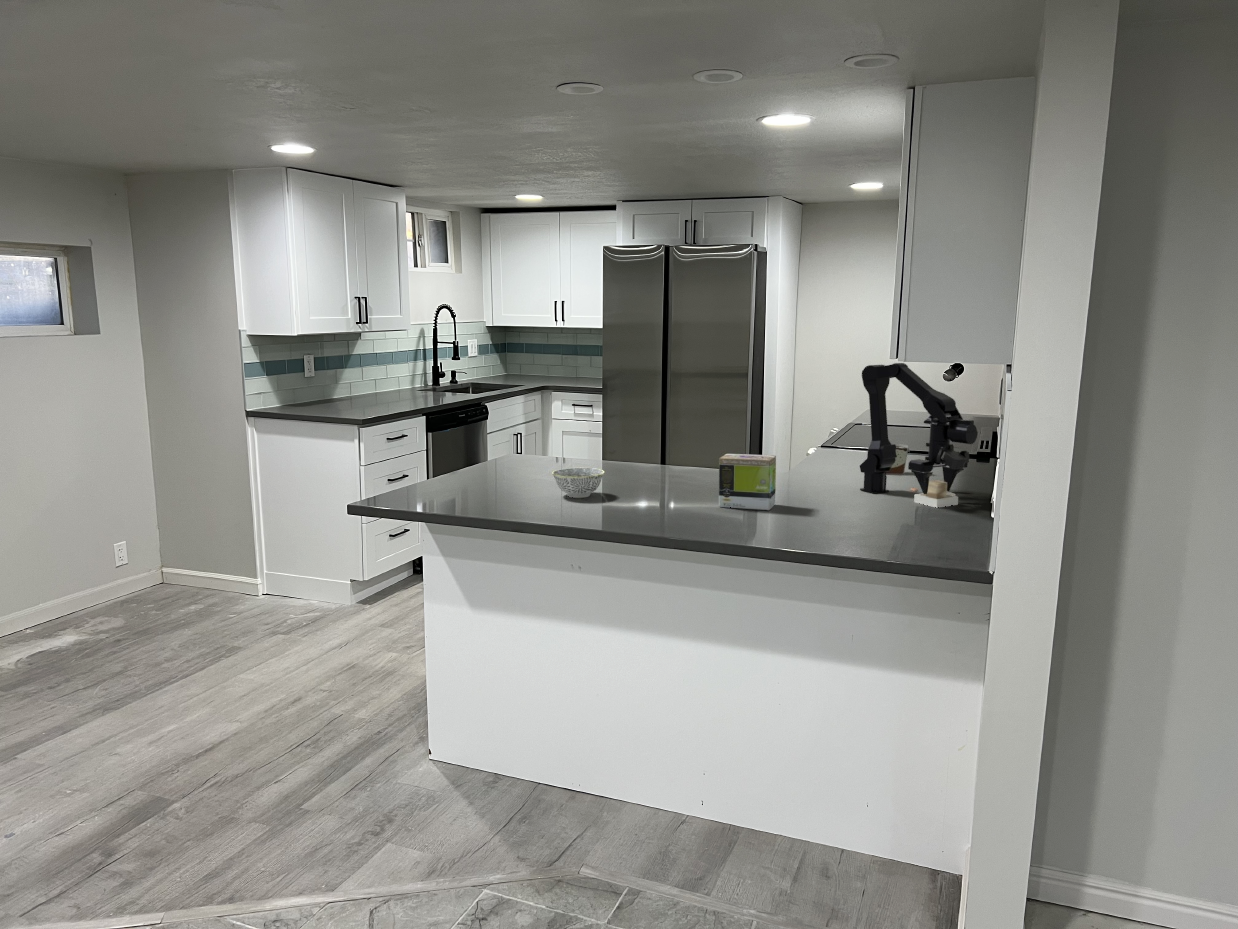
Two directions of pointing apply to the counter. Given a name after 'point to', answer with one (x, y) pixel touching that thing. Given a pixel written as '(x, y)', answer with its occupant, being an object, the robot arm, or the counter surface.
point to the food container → (899, 460)
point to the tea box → (747, 481)
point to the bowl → (578, 481)
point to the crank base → (947, 492)
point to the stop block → (937, 489)
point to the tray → (936, 500)
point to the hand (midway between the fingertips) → (936, 492)
